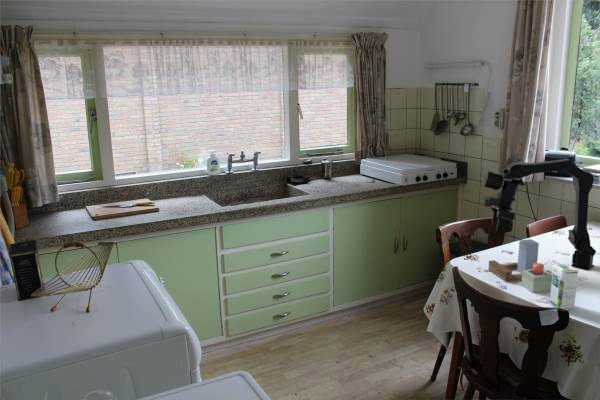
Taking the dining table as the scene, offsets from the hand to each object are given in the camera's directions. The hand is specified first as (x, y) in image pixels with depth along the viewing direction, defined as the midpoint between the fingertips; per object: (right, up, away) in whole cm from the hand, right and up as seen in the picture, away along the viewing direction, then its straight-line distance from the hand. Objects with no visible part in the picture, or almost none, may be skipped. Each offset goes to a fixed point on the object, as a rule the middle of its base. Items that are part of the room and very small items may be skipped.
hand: (495, 228), depth 211 cm
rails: (+8, -17, -7) cm, 20 cm away
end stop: (-1, -18, -8) cm, 20 cm away
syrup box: (+9, -25, -36) cm, 44 cm away
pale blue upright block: (+10, -17, -6) cm, 21 cm away
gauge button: (+7, -15, -22) cm, 27 cm away
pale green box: (+8, -21, -20) cm, 30 cm away
